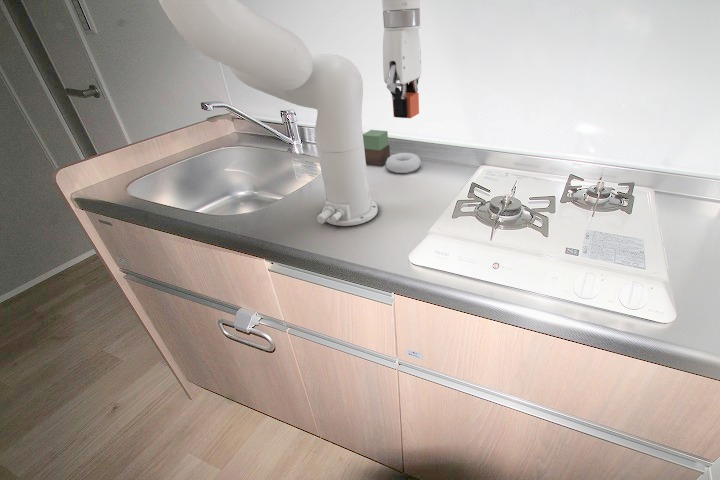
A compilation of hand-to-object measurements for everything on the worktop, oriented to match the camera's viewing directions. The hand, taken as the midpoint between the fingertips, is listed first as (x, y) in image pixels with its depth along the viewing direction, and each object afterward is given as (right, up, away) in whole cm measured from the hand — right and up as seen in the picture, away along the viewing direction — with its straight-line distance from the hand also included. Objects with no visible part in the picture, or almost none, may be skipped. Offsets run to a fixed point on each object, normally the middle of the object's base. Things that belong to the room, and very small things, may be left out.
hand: (406, 113), depth 85 cm
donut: (0, -8, +20) cm, 21 cm away
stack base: (-8, -4, +25) cm, 27 cm away
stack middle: (-9, 0, +22) cm, 24 cm away
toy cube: (0, 0, 0) cm, 0 cm away
